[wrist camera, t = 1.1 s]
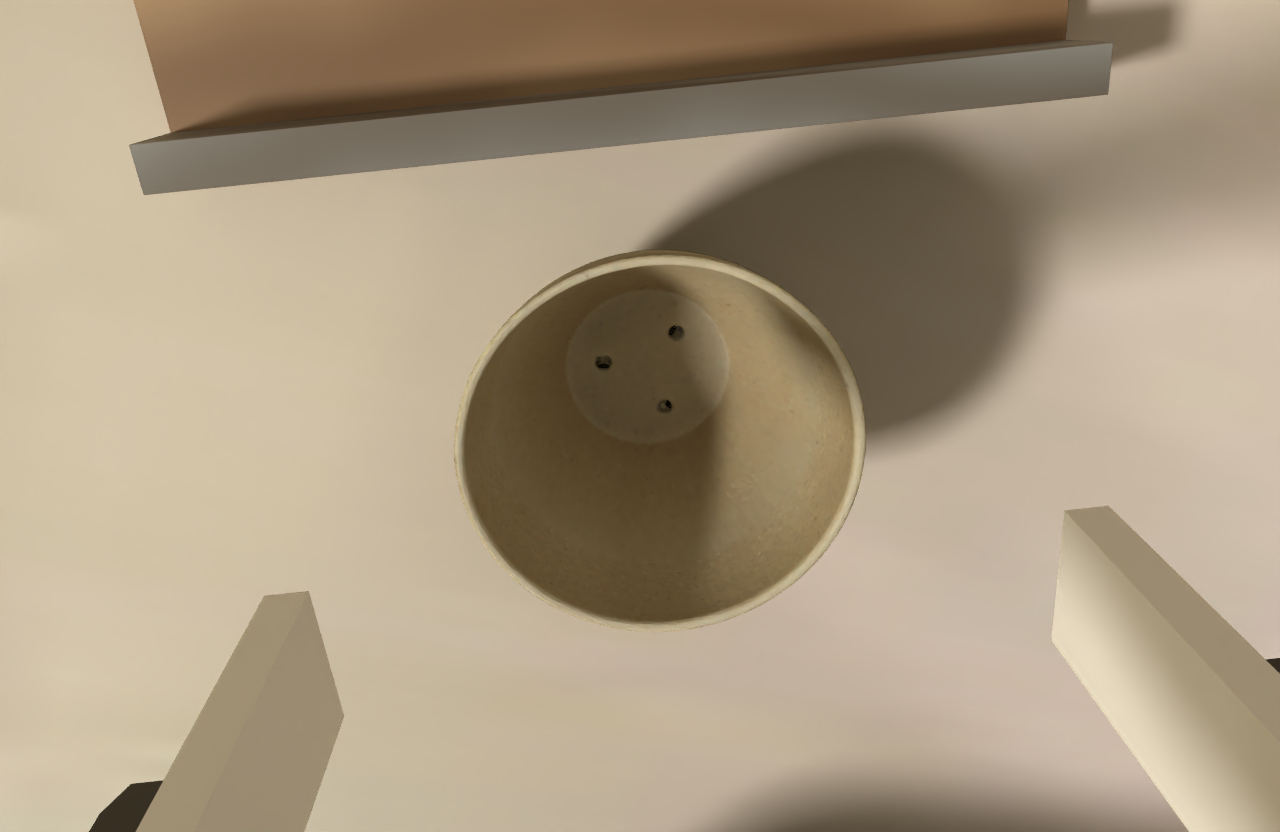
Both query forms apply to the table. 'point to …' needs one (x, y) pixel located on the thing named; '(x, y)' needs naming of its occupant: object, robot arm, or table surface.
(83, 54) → the table surface
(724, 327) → the flower pot
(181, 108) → the brown piece
